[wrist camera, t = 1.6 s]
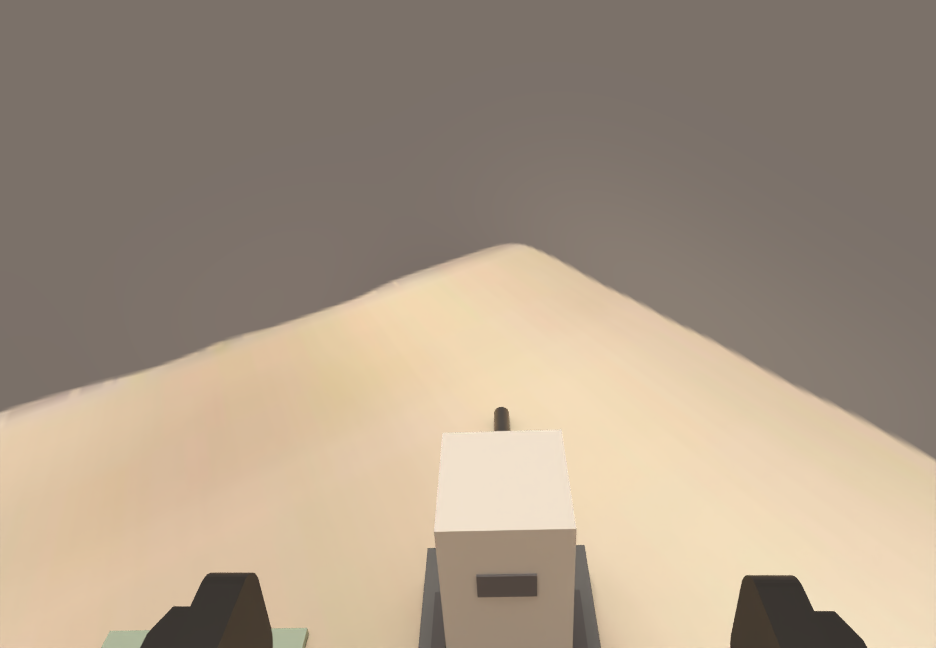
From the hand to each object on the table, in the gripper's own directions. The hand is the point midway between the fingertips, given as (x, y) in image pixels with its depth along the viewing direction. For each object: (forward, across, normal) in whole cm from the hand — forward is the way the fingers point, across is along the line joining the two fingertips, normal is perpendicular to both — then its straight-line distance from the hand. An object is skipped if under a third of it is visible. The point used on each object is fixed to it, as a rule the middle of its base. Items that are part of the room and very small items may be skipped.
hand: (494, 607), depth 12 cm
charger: (+11, 0, +18) cm, 21 cm away
